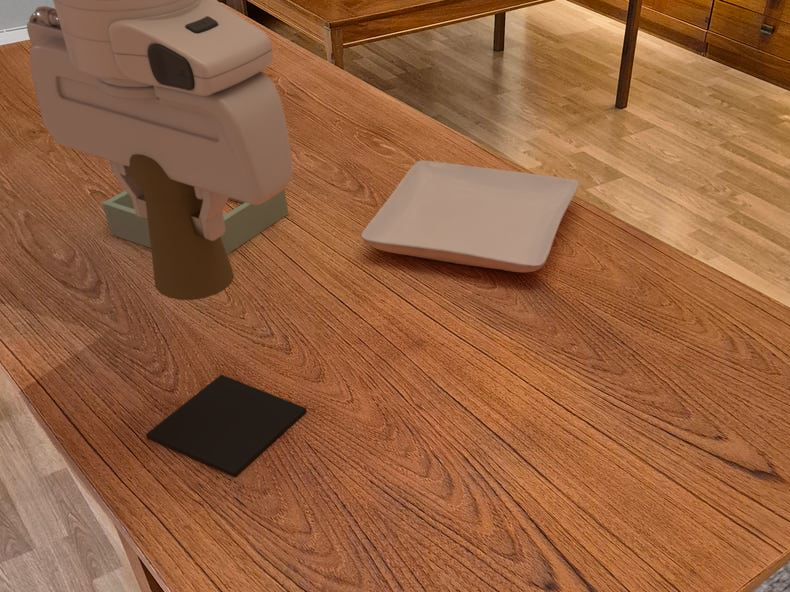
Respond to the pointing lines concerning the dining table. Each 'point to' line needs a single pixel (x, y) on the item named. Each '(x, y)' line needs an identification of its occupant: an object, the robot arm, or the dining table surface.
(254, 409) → the mat
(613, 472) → the dining table surface
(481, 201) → the plate
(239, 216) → the square frame
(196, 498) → the dining table surface
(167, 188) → the brown pawn
